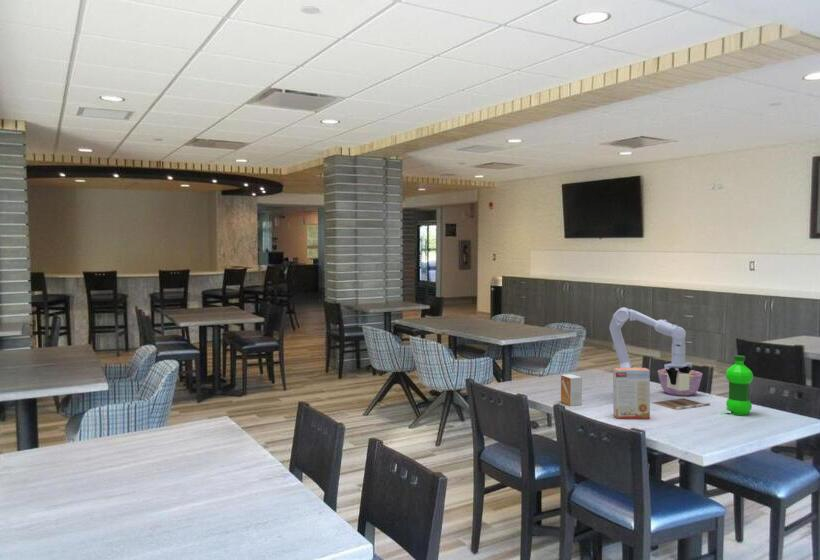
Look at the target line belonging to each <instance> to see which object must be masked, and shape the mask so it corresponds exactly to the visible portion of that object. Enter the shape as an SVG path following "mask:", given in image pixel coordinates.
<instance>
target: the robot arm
mask: <svg viewBox="0 0 820 560" xmlns="http://www.w3.org/2000/svg"><path fill="white" fill-rule="evenodd" d="M627 321H629V322H631V321H633V322H634V321H638V322H641V323H643V324H645V325H648V326H651V327H653V328H654V331H656V332H658V333H660V334H662V335H665V336H667V337H671V338H672V339H671V341H672V342H671V362H670V363H666V364H663V365H664V368H663V369H666V371H667V373H668V375H669V378H670V382H671V384H673V385H676V377H677V373H678V370H675V369H679V372H682V373H686V374H689V372H690V371H691V370H692V369H691V368H693V362H690V361H688V362H687V361H686V337H687V332H686V330H685V329H684V328H683V327H682V326H678V325H677V324H674V323H673V324H672V323H670V322H668V320H667V319H657V320H656V319H654V318H652V317H650V316H648V315H646V314H643V313H642V312H640V311H638V310H635V309H632V308H631V309H630V308H628V307H625V306H624V307H619V309H617V310H616V311H615V312H614V313H613V315H612V318H611V320H610V324H609V327H608V328H609V332H610V335H611V336H610V337H611V339H612V342H613V346H614V349H615V353H616V355H617V356H616V357H617V358H618V363H619V368H634V367H633V364H632V362H631V360H630V356H629V354H628V349H627V347H626V344H625V343H626V342H625V339H624V337H623V333H622V330H621V329H622V327H623V326H624V325H625V323H627Z"/></svg>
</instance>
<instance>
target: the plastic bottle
mask: <svg viewBox="0 0 820 560" xmlns="http://www.w3.org/2000/svg"><path fill="white" fill-rule="evenodd" d="M733 360H734V362H735V363H734V364H733V365H731V366H730V367H729V368H727V369H726V371H725V377H726V380H727V381H728V397H727V400H726V401H725V402H726V403H725V405H726V407H727V409H728V411H730V413H731V414H732V415H737V416H745V415H746V414H748V413H750V412H751V410H752V407H753V405H752V402H751V400H750V384H751V383H752V382H753V379H754V374H753V372H752V370H751V369H750V368H749V367H747V365H746V364H744V362H745V361H746V356H745V355H739V354H738V355H733Z"/></svg>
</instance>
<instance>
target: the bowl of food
mask: <svg viewBox="0 0 820 560" xmlns="http://www.w3.org/2000/svg"><path fill="white" fill-rule="evenodd" d="M675 370H678V372H679V369H678V368H675ZM657 375H658V379H659V383H660V386H661V387H660V388H661V389H662V390H663V392H665V393H666V394H668V395H672V396H680V397H682V396H683V397H684V396H685V397H688V396H693V395H695V394H696V393H697V392H698V390H699V388H700V385H701V381H702V379H703V378H702V377H703V373H702V372H700V371H696V370H694V369H693V370H692V369H691V371H690V372H689V390H683V391H680V390H676V389H672V388H668V387H667V371H666V369H664V368H661V369H658V370H657Z"/></svg>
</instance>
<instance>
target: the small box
mask: <svg viewBox="0 0 820 560" xmlns="http://www.w3.org/2000/svg"><path fill="white" fill-rule="evenodd" d="M582 393H583V378H582V377H581V376H579V375H575V374H573V373H569V374H561V375H560V402H561V403H563V404H565V405H568V406H569V407H575V406H582V405H583V404H582V403H583V394H582Z"/></svg>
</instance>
